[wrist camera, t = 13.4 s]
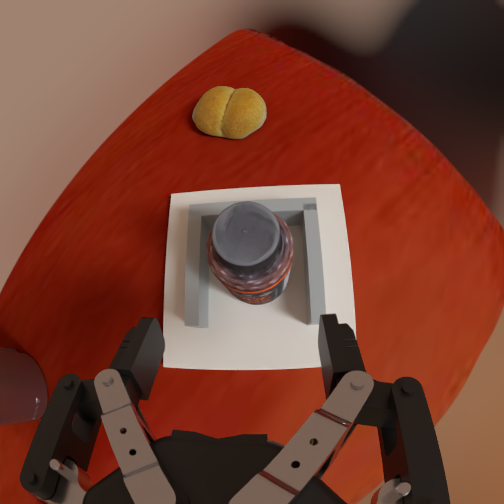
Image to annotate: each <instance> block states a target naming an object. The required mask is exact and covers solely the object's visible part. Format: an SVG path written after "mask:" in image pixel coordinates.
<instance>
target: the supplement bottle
mask: <svg viewBox="0 0 504 504" xmlns="http://www.w3.org/2000/svg"><path fill="white" fill-rule="evenodd" d="M206 255H207V260H208V263H209V266H210V268H211V270H212V272H213V274H214V275H215V276H216V277H217V279H218V280H219V281H220V282H221V283H222V284H223V285H224V286H225V287H226V288H227V289H228V290H229V292H230V293H231V294H232V295H233V296H235V297H236V298H237V299H239V300H240V301H242V302H245V303H247V304H251V305H262V304H266V303H269V302H271V301H273V300H275V299H276V298H278V297H279V296H280V295H281V294H282V292H283V291H284V290H285V288H286V286H287V283H288V281H289V276H290V271H291V266H292V261H293V255H294V242H293V238H292V234H291V232H290V230H289V228H288V226H287V224H286V223H285V222H284V221H283V219H281V217H280V216H278V215H277V214H276V213H274V212H272V211H271V210H269V209H268V208H267V207H265V206H263V205H262V204H259V203H256V202H251V201H245V202H238V203H234V204H232V205H230V206H229V207H227V208H225V209H224V210H223V211H222V212H221V213H220V214H219V215H218V217H217V218H216V220H215V222H214V224H213V228H212V229H211V231H210V234H209V236H208V239H207V245H206Z"/></svg>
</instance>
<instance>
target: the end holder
mask: <svg viewBox="0 0 504 504" xmlns="http://www.w3.org/2000/svg"><path fill="white" fill-rule="evenodd" d="M245 201H251V202H256V203H259V204H262V205H263V206H265V207H267V208H268V209H269V210H271V211H272V212H274V213H276V214H277V215H278V216H280V217H281V219H283V221H284V222H285V223H286V224H287V226H288V228H289V230H290V232H291V234H292V238H293V242H294V255H293V261H292V266H291V271H290V276H289V281H288V283H287V286H286V288H285V290H284V291H283V292H282V294H281V295H280V296H279V297H278V298H276V299H275V300H273V301H271V302H269V303H266V304H262V305H251V304H247V303H245V302H242V301H240V300H239V299H237V298H236V297H235V296H233V295H232V294H231V293H230V292H229V290H228V289H227V288H226V287H225V286H224V285H223V284H222V283H221V282H220V281H219V280H218V279H217V277H216V276H215V275H214V274H213V272H212V270H211V268H210V266H209V263H208V260H207V255H206V245H207V239H208V236H209V234H210V231H211V229H212V228H213V224H214V222H215V220H216V218H217V217H218V215H219V214H220V213H221V212H222V211H223V210H224V209H225V208H227V207H229V206H230V205H232V204H234V203H238V202H245ZM334 313H335V314H336V315H337V319H338V323H339V324H343V323H347V324H348V325H349V326H350V327H351V328H352V329H353V331H354V334H355V337H356V325H355V309H354V295H353V283H352V273H351V263H350V254H349V245H348V237H347V230H346V222H345V215H344V208H343V202H342V196H341V190H340V184H320V185H289V186H268V187H250V188H235V189H221V190H209V191H198V192H187V193H177V194H171V202H170V213H169V224H168V236H167V249H166V265H165V286H164V318H163V337H164V340H165V351H164V354H163V367H171V368H188V369H213V370H270V369H295V368H312V367H321V362H320V356H319V350H318V332H319V320H320V315H321V314H334Z"/></svg>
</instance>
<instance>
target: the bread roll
mask: <svg viewBox="0 0 504 504" xmlns="http://www.w3.org/2000/svg"><path fill="white" fill-rule="evenodd" d="M192 118H193V121H194V122H195V124H196V126H197V128H198V129H199V130H200V131H202V132H204V133H206V134H208V135H212V136H218V137H225V138H229V139H242V138H245V137H246V136H248V135H249V134H251V133H253V132H254V131H255V130H257V129H258V128H260V127H261V126H262V125H263V123H264V121H265V119H266V105H265V102H264V101H263V99H262V98H261V96H260V95H259V94H257V93H256V92H255V91H253V90H251V89H248V88H240V89H233V88H230V87H226V86H217V87H214V88H212V89H210V90H208V91H207V92H206V93H205V94H204V95H203V96H202V97H201V98H200V100H199V101H198V103H197V105H196V107H195V109H194V111H193V115H192Z"/></svg>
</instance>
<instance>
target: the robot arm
mask: <svg viewBox="0 0 504 504" xmlns="http://www.w3.org/2000/svg"><path fill="white" fill-rule="evenodd" d="M318 350H319V356H320V362H321V368H322V374H323V381H324V387H325V394H326V402H325V403H324V404H323V406H322V407H321V408H320V409H319V410H318V409H317V410H315V411H314V412H313V413H312V414H311V416H310V417H309V418H308V419H307V421H306V422H305V423H304V424H303V426H302V427H301V428H300V429H299V430H298V432H297V433H296V434H295V435H294V436H293V438H292V439H291V440H290V441H289V442H288V444H287V445H286V446H284V445H281V444H279V443H277V442H273V441H269V440H268V439H267V434H242V435H237V436H232V437H226V438H220V439H217V438H213V437H209V436H206V435H203V434H200V433H197V432H190V431H181V430H173V431H172V435H171V436H167V437H163V438H160V439H156V438H155V436H154V435H153V433H152V431H151V429H150V427H149V425H148V423H147V421H146V419H145V417H144V415H143V413H142V411H141V409H140V407H139V405H138V403H139V400H140V399H141V400H148V398H149V395H150V392H151V389H152V386H153V383H154V380H155V377H156V374H157V371H158V368H159V365H160V362H161V360H162V357H163V354H164V351H165V340H164V337H163V334H162V331H161V328H160V325H159V322H158V320H157V318H146V317H142V318H141V319H140V321H139V323H138V325H137V327H132V328H131V329H130V330H129V331H128V332H127V333H126V335H125V337H124V339H123V342H122V343H121V345H120V348H119V349H118V351H117V353H116V355H115V357H114V359H113V361H112V363H111V365H110V367H109V369H106V370H103V371H101V372H100V373H99V374H98V375H97V376H96V377H95V379H90V380H83V381H81V380H80V378H79V377H78V376H77V375H75V374H67V375H65V376H63V377H62V378H61V379H60V380H59V382H58V384H57V386H56V388H55V390H54V392H53V394H52V396H51V398H50V401H49V403H48V405H47V401H48V395H47V387H46V382H45V379H44V376H43V374H42V372H41V369H40V368H39V366H38V364H37V363H36V362H35V361H34V359H33V358H32V357H30V356H29V355H27V354H25V353H18V352H17V350H16V349H13V348H2V347H0V426H1V425H8V424H14V423H21V422H26V421H32V420H37V419H39V418H41V417H42V419H41V421H40V423H39V426H38V428H37V431H36V433H35V436H34V438H33V441H32V443H31V446H30V448H29V451H28V454H27V457H26V459H25V462H24V465H23V468H22V471H21V474H20V482H21V484H22V486H23V488H24V489H25V490H27V491H28V492H30V493H32V494H33V495H35V496H36V497H38V498H39V499H41V500H42V501H44V502H46V503H48V504H347V503H346V502H345V501H344V500H343V499H341V498H340V497H339V496H338V495H337V494H336V493H335V492H334V491H333V490H332V489H330V488H329V487H328V486H327V485H326V484H325V483H324V482H323V481H322V480H321V478H322V477H323V476H324V474H325V473H326V472H327V470H328V469H329V468H330V466H331V465H332V463H333V462H334V460H335V459H336V457H337V455H338V454H339V452H340V451H341V449H342V448H343V446H344V445H345V443H346V442H347V440H348V439H349V437H350V436H351V434H352V432H353V431H354V429H355V428H356V426H357V425H358V424H361V425H368V426H376V427H377V428H378V435H379V441H380V448H381V456H382V463H383V472H384V481H385V484H384V485H383V486H382V487H381V488H379V489H378V490H377V491H376V492H375V493H374V495H373V496H372V499H371V504H450V499H449V493H448V487H447V481H446V476H445V471H444V467H443V462H442V458H441V453H440V449H439V445H438V441H437V437H436V433H435V429H434V425H433V422H432V418H431V414H430V411H429V408H428V404H427V401H426V398H425V394H424V391H423V388H422V386H421V384H420V383H419V381H417V380H416V379H414V378H412V377H401V378H399V379H397V380H396V381H395V382H394V384H393V383H384V382H379V381H376V380H374V379H372V377H371V376H370V375H369V374H367V373H366V370H365V367H364V364H363V360H362V357H361V354H360V350H359V347H358V344H357V340H356V337H355V334H354V331H353V329H352V328H351V327H350V326H349V325H348V324H347V323H343V324H339V323H338V319H337V315H336V314H335V313H334V314H321V315H320V320H319V332H318ZM75 414H76V416H75ZM74 416H75V418H74ZM73 419H74V421H73ZM72 422H73V424H72ZM101 422H103V424H104V427H105V430H106V433H107V436H108V438H109V441H110V444H111V446H112V449H113V451H114V454H115V456H116V459H117V461H118V464H119V466H120V467H119V468H117V469H116V470H115V471H113V472H112V473H110V474H109V475H108V476H106V477H105V478H103V479H102V480H101V481H99V482H98V483H96V484H95V485H93V486H91V484H90V477H89V475H88V473H87V469H88V466H89V462H90V458H91V455H92V451H93V448H94V445H95V441H96V438H97V435H98V432H99V428H100V425H101Z"/></svg>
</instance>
